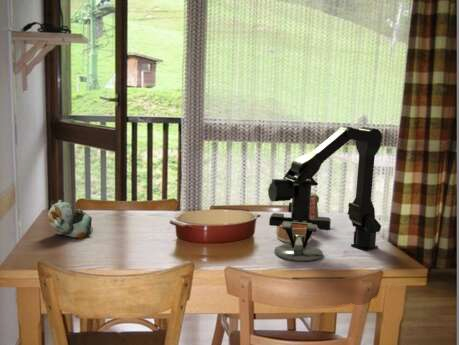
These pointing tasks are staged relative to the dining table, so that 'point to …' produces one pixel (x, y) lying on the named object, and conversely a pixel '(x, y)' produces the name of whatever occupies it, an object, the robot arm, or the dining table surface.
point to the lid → (298, 251)
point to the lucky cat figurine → (69, 220)
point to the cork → (316, 207)
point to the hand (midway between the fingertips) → (298, 247)
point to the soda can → (312, 206)
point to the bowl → (297, 229)
